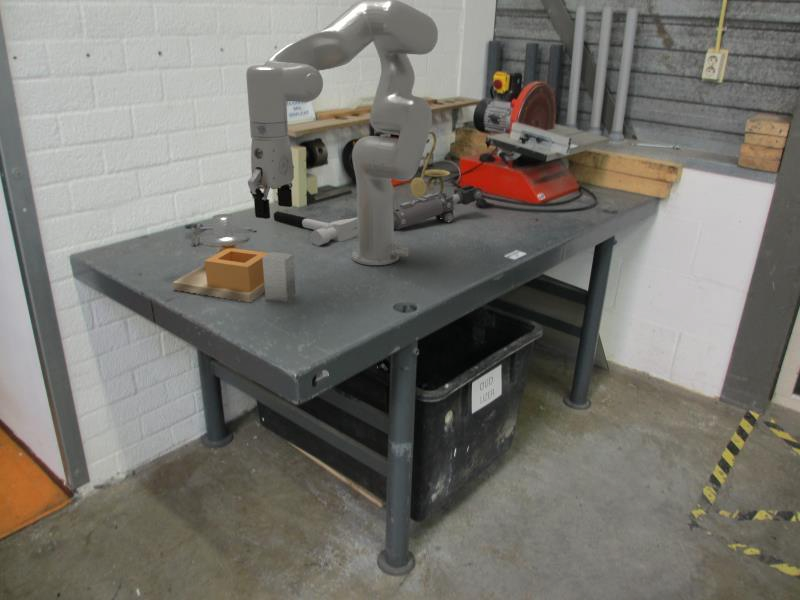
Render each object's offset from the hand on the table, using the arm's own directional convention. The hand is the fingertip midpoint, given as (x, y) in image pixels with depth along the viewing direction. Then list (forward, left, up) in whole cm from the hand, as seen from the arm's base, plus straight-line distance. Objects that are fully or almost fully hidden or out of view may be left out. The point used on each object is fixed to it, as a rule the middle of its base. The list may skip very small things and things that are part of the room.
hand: (274, 211), depth 135 cm
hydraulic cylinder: (-16, -68, -20) cm, 73 cm away
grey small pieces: (+35, -32, -21) cm, 52 cm away
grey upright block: (0, 0, -20) cm, 20 cm away
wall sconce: (-10, -89, -20) cm, 92 cm away
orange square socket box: (+15, -5, -20) cm, 26 cm away
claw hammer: (+15, -50, -21) cm, 56 cm away
